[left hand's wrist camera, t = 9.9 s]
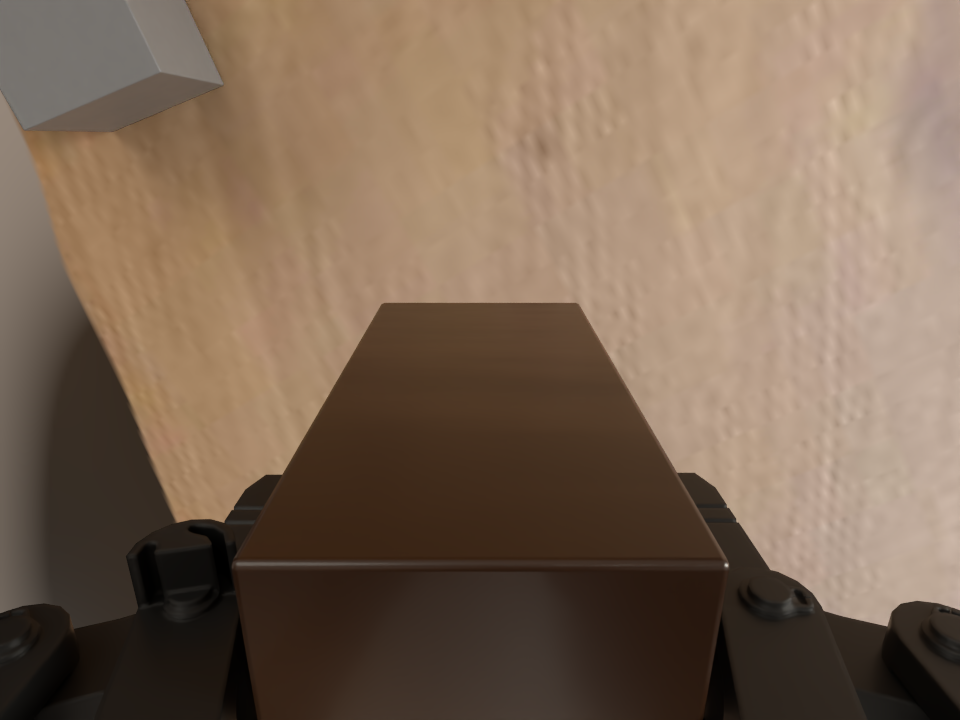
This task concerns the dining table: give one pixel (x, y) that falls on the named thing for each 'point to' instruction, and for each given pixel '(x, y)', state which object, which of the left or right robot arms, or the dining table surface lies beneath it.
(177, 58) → the grey block
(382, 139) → the dining table surface
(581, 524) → the plank
